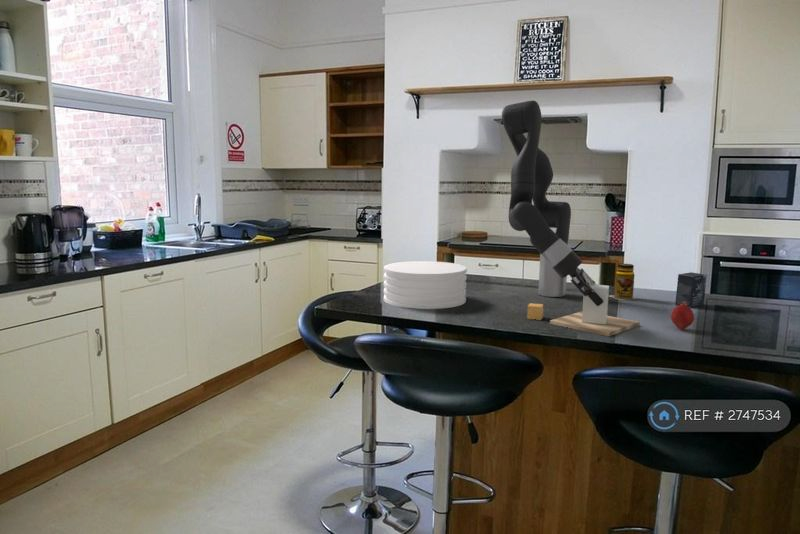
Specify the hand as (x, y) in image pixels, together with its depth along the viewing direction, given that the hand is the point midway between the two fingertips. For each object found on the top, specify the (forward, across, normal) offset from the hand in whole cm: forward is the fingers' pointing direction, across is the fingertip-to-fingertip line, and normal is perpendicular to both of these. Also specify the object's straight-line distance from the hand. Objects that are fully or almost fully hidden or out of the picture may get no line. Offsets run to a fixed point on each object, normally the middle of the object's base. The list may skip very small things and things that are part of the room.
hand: (601, 301), depth 165 cm
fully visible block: (-8, +1, +18) cm, 20 cm away
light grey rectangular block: (+3, 0, +5) cm, 6 cm away
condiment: (+9, +44, +2) cm, 45 cm away
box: (+24, +40, -13) cm, 48 cm away
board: (+4, 0, +6) cm, 7 cm away
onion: (+20, +4, -10) cm, 23 cm away
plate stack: (-35, +12, +46) cm, 59 cm away
